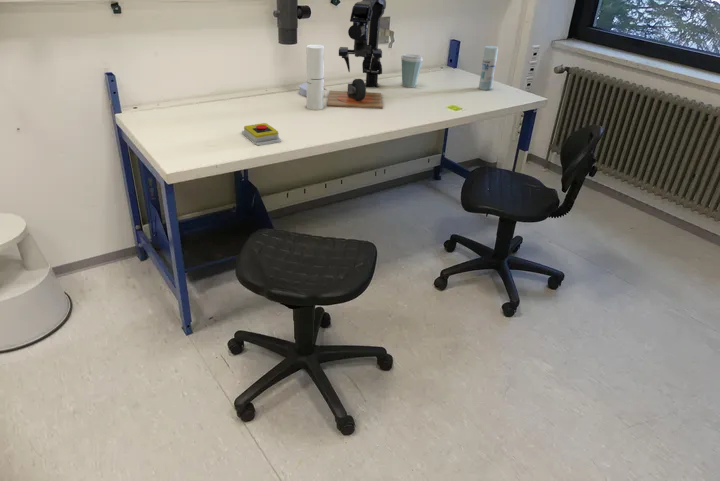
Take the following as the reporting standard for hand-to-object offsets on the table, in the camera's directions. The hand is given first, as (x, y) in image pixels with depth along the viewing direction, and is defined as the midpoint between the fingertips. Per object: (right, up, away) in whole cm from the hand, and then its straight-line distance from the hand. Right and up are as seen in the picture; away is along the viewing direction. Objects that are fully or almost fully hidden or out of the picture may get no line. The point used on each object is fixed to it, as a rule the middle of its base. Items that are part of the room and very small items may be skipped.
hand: (359, 72), depth 237 cm
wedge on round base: (-22, -8, +8) cm, 25 cm away
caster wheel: (-2, -11, +3) cm, 11 cm away
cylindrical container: (-19, -17, -8) cm, 27 cm away
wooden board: (-2, -11, +4) cm, 12 cm away
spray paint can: (+63, +2, +31) cm, 70 cm away
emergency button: (-36, -37, -42) cm, 66 cm away
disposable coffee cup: (+25, +2, +29) cm, 38 cm away
